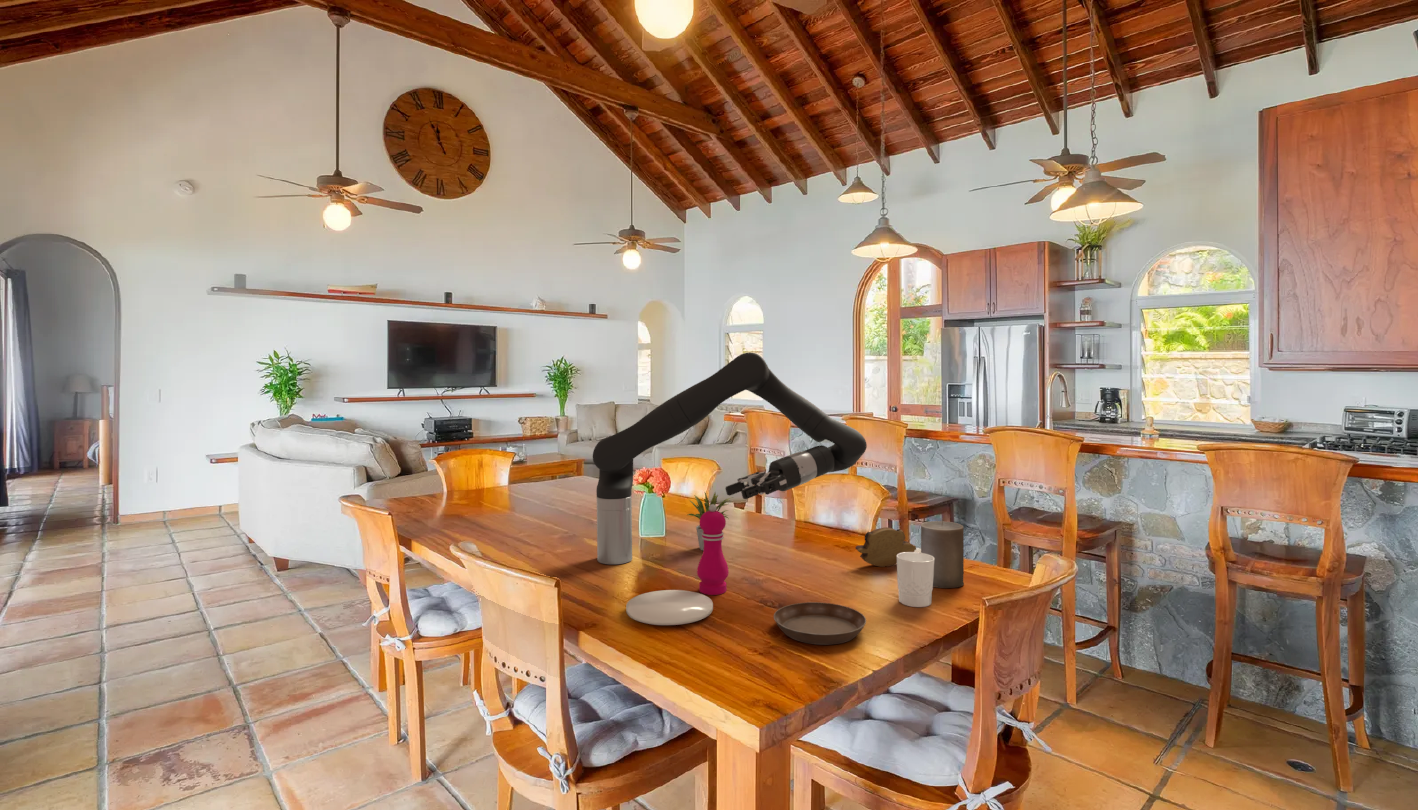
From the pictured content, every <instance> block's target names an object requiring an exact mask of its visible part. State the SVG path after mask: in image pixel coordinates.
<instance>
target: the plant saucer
mask: <svg viewBox="0 0 1418 810" xmlns="http://www.w3.org/2000/svg"><path fill="white" fill-rule="evenodd" d="M773 620H774V622H775V623H776V625H777V626H778V627H779V629H780V630H781V631H782V632H783V634H785V635H786V636H787V637H789V639H790V638H791V639H793V640H795V641H798V642H801V643H804V644H810V645H811V644H812V645H819V646H828V645H839V644H844V643H846V642H849V641H851V640H853V639H855V638H856V637H857V636H858V635H859V634H860V633H861V631H862V630H863V629H864V627H865V625H866V623H867V618H866V617H865V614H863V613H861V612H860V611H859V610H856V609H854V608H851V607H849V606H846V605H841V604H835V603H830V602H812V601H811V602H808V601H807V602H799V603H793V604H788V605H785V606H783V607H780V608H778V609H777V610H775V612H774V614H773Z"/></svg>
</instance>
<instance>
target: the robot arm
mask: <svg viewBox="0 0 1418 810" xmlns="http://www.w3.org/2000/svg"><path fill="white" fill-rule="evenodd" d="M744 391H748V392H751V393H752V394H754V395H755V396H757V397H759V398H761V399H763V400H764V401H766V402H767V403H769V404H770V405H772V406H773V407H775V409H776V410H778V411H779V412H780V413H781V414H782V415H783V416H785V417H786V418H787V419H788V420H789V421H790V422H791V423H792V424H793V425H795V426H796V427H797V428H798V429H800V430H801V431H802V432H803V433H804V434H805V435H807V436H808V437H809V438H810V439H812V440H813V441H814V442H817V443H821V442H824V441H825V440H827V441H829V442H830V443H832V445H831V446H830V445H829V446H825V445H817V446H813V447H811V448H807V449H805V450H802V451H798V452H795V453H791V454H788V455H787V456H783V457H781V458H778V459H776V460H773V461H771V462H770V463H769V466H768V471H767V472H766V471H756V472H754V473H751V474H748V475H746V476H743V477H740V478H737V482H734V483H732V484H729V485H727V486H725V492H726V495H727V496H733V495H735V494H737V493H740V492H741V497H742V499H744V500H748V499H750V498H753V497H756V496H758V495H761V496H763V495H764V494H765V495H770V494H772V493H775V492H776V491H780V492H786V491H789V490H791V489H793V488H794V489H795V488H796V487H798V486H801V485H804V484H805V483H808V482H810V481H812V480H814V479H816V478H819V477H822V476H823V475H826V474H827V473H834V472H841V471H844V470H845V471H846V469H849V468H851V467H852V466H854V465H855V464H856V463H857V462H858V461H859V460H860V459H861V457H862V456H863V455H864V454H865V452H866V450H867V446H868V445H867V441H866V439H865V437H864V436H863V434H862V433H860V431H858V430H857V429H855V428H853V427H851V426H849V425H847V424H845V423H843V422H841V421H839V420H836V419H833V418H832V417H830V416H829V415H828V414H827V413H826V412H824V411H823V410H822V409H820V408H819V407H818V406H816V405H815V404H814V403H812V402H811V401H810V400H808V399H806V398H805V397H803V396H802V395H800V394H798V393H797V392H795V391H794V390H793V389H791V388H790V387H788V386H787V385H786V384H785V383H783V381H782V380H780V379H779V377H778V376H777V375H775V373H774V372H773V371H772V370H771V369H770V368H769V366H768V364H767V362H766V360H765V359H764V357H762V355H760V354H759V353H756V352H745V353H741V354H739V355H738V356H736V357H735V358H733V359H731V361H730V362H728V363H727V364H726V365H724V366H723V367H721V368H720V369H719V370H717V371H716V372H715V373H714V374H712V375H711V376H709V377H707V378H705V379H703V380H701V381H699V382H698V383H696V384H694V385H691V386H690V387H688V388H687V389H685V390H683V391H681V392H680V393H677V394H676V395H674V396H672V397H671V398H669V399H667V400H666V401H664V402H663V403H661V404H660V405H658V406H657V407H655V408H654V409H652V410H651V411H650V412H648V413H647V414H646V415H644V416H643V417H642V418H640V419H639V420H638V421H636V422H635V423H634V424H632V425H631V426H628V427H626V428H625V429H623V430H621V431H618V432H617V433H615V434H612V435H609V436H607V437H604V438H602V439H600V440H599V441H598V442H597V444H596V445H595V446H594V449H593V451H592V461H593V464H594V465H595V467H596V468H597V469H599V475H598V477H599V478H598V482H597V485H596V491H595V492H596V540H597V541H596V543H597V544H596V546H597V550H596V551H597V558H596V559H597V562H598V563H600V564H604V565H621V564H626V563H630V562H631V561H632V560H633V521H632V520H633V511H632V509H633V506H632V505H633V504H632V503H633V501H632V494H633V493H632V491H633V490H632V489H633V485H634V459H635V458H637V457H638V456H640V455H641V454H642V453H644V452H645V451H647V450H649V449H651V448H652V447H655V446H657V445H659V444H661V443H664V442H666V441H668V440H671V439H673V438H674V437H677V436H678V435H680V434H682V433H684V432H686V431H687V430H689V429H691V428H693V427H694V426H696V425H697V424H699V423H701V422H702V421H703V420H705V418H706V417H708V416H710V414H711V413H712V412H713V411H714V410H716V408H718V406H720V405H721V404H722V403H724V402H725V401H726V400H728V399H730V398H731V397H734V396H736V395H738V394H739V393H742V392H744ZM746 482H747V483H746ZM745 483H746V484H745Z"/></svg>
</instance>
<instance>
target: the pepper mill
mask: <svg viewBox="0 0 1418 810" xmlns="http://www.w3.org/2000/svg"><path fill="white" fill-rule="evenodd" d="M716 507H717V506H716V505H714V504H711V505H710V504H709V511H707V512H706V511H705V513H704V514H703V515H702V516H701V518H700V519H699V525H700V527H701V529H702V530H703V532H702V539H703V540H704V551H703V550H702V551H703V552H702V555H701V557H700V559H699V562H698V564H697V569H696V574H697V575H696V576H697V577H698V579H699V580H700V582H699V584H698V586H699V587H698V590H699V592H700V594H703V595H706V596H707V595H709V596H717V595H722V594H725V593H726V592H727V582H726V581H725V580H727V578H728V577H729V575H730V574H729V573H730V572H729V567H728V562H727V561H726V559H725V556H724V552H723V546H722V541H723V540H724V534H725V533H724V529H725V528H726V517H724V516H725V515H723V514H724V513H723V514H722V513H720V511H717V510H716Z"/></svg>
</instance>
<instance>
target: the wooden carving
mask: <svg viewBox="0 0 1418 810" xmlns="http://www.w3.org/2000/svg"><path fill="white" fill-rule="evenodd" d="M905 535H906V534H905V532H904V531H903V530H902V529H900V528H898V529H895V528H892V527H886V526H885V527H879V528H876V529H873V530H871V531H867V532H866V533H865V535H864V541H865V542H864V544H863V545H862V544H861V545H860V544H859V545H856V546H855V550H857V552H858V553H861V554H860V556H859V557H860V558H861V559H862V560H863V561H864V562H866V563H867V564H869V565H873V566H876V567H880V568H886V567H885V566H887V567H891V566H894V565H897V557H896V556H897V554H899V553H903V552H916V550H917V546H916V545H914V544H912V543H911V542H909V541H906V536H905Z"/></svg>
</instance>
